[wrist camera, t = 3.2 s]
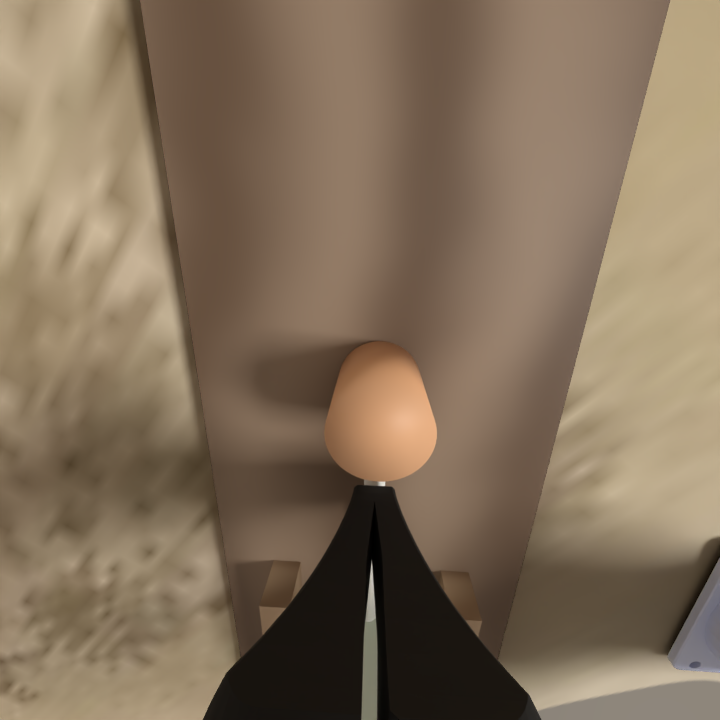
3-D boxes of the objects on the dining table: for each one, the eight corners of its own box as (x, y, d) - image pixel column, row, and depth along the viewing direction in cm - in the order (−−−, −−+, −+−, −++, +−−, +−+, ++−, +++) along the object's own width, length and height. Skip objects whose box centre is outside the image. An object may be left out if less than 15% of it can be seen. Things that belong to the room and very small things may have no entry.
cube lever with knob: (457, 343, 11) (498, 399, 7) (413, 677, 17) (423, 799, 13) (306, 338, 11) (271, 389, 7) (317, 670, 17) (300, 788, 14)
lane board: (700, -205, 7) (876, -446, 5) (481, 684, 19) (498, 758, 16) (129, -192, 8) (6, -406, 5) (250, 667, 19) (230, 736, 16)
